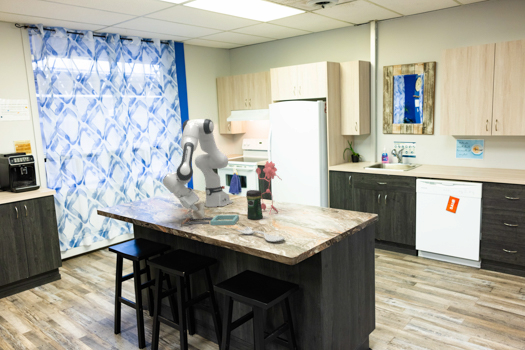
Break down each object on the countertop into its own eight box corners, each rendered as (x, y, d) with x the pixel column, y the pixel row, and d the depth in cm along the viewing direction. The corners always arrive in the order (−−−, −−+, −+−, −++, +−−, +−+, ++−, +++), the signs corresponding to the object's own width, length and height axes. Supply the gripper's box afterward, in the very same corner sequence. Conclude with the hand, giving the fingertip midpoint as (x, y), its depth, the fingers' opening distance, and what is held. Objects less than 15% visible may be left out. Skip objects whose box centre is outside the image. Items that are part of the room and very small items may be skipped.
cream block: (193, 218, 261) (192, 203, 259) (195, 216, 265) (194, 201, 264) (202, 218, 260) (201, 203, 258) (204, 216, 265) (203, 201, 263)
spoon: (247, 231, 238) (247, 225, 238) (288, 241, 215) (288, 234, 215) (236, 234, 232) (235, 228, 232) (276, 245, 209) (276, 239, 209)
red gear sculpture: (277, 216, 267) (275, 163, 262) (251, 210, 286) (249, 161, 282) (293, 212, 277) (292, 161, 272) (268, 207, 296) (266, 159, 292)
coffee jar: (264, 217, 266) (263, 189, 263) (257, 220, 260) (255, 191, 257) (253, 216, 272) (251, 188, 269) (245, 218, 265) (243, 190, 263)
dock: (210, 225, 254) (210, 221, 254) (216, 218, 269) (216, 215, 268) (234, 224, 252) (233, 220, 252) (238, 218, 267) (238, 214, 266)
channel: (182, 224, 258) (181, 222, 258) (188, 219, 270) (187, 217, 270) (208, 224, 256) (208, 222, 256) (213, 219, 268) (213, 217, 267)
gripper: (180, 193, 251) (197, 209, 251) (191, 187, 271) (206, 201, 271) (174, 201, 252) (191, 216, 252) (185, 194, 272) (200, 208, 272)
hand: (199, 208), depth 262 cm, fingers closed on cream block, 5 cm apart
